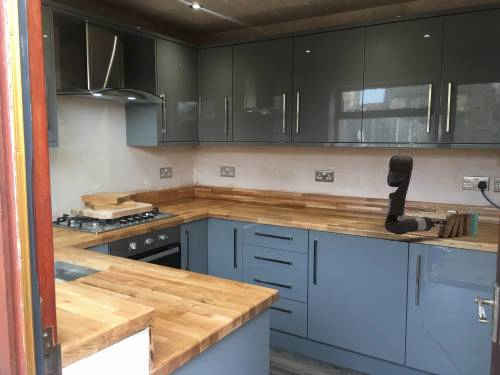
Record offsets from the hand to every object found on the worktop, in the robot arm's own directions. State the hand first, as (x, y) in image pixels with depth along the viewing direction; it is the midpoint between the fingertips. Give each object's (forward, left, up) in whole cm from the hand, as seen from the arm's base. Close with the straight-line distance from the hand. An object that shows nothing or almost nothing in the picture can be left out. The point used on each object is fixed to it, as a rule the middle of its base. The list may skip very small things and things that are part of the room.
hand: (445, 222), depth 223 cm
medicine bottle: (-11, +17, -8) cm, 22 cm away
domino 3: (0, +9, -8) cm, 12 cm away
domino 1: (0, -2, -7) cm, 8 cm away
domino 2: (0, +4, -8) cm, 8 cm away
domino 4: (0, +14, -8) cm, 16 cm away
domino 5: (0, +20, -8) cm, 21 cm away
